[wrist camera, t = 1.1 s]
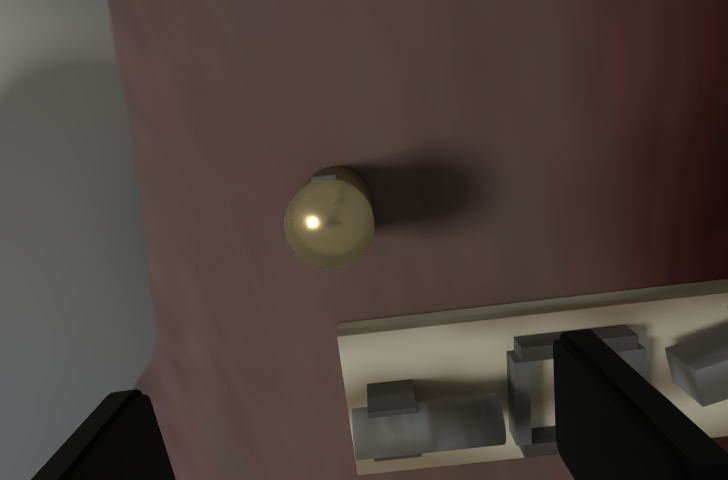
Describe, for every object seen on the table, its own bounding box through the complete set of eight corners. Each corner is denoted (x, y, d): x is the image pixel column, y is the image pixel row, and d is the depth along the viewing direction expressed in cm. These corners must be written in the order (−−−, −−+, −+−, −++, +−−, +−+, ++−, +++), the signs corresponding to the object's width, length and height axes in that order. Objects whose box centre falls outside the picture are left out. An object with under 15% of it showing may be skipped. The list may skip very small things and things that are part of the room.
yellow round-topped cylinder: (296, 167, 28) (276, 183, 21) (366, 159, 27) (368, 172, 21) (308, 240, 29) (292, 277, 22) (374, 232, 29) (379, 267, 22)
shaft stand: (338, 323, 30) (333, 370, 25) (776, 273, 30) (877, 310, 24) (357, 454, 33) (357, 524, 27) (757, 411, 33) (843, 474, 27)
